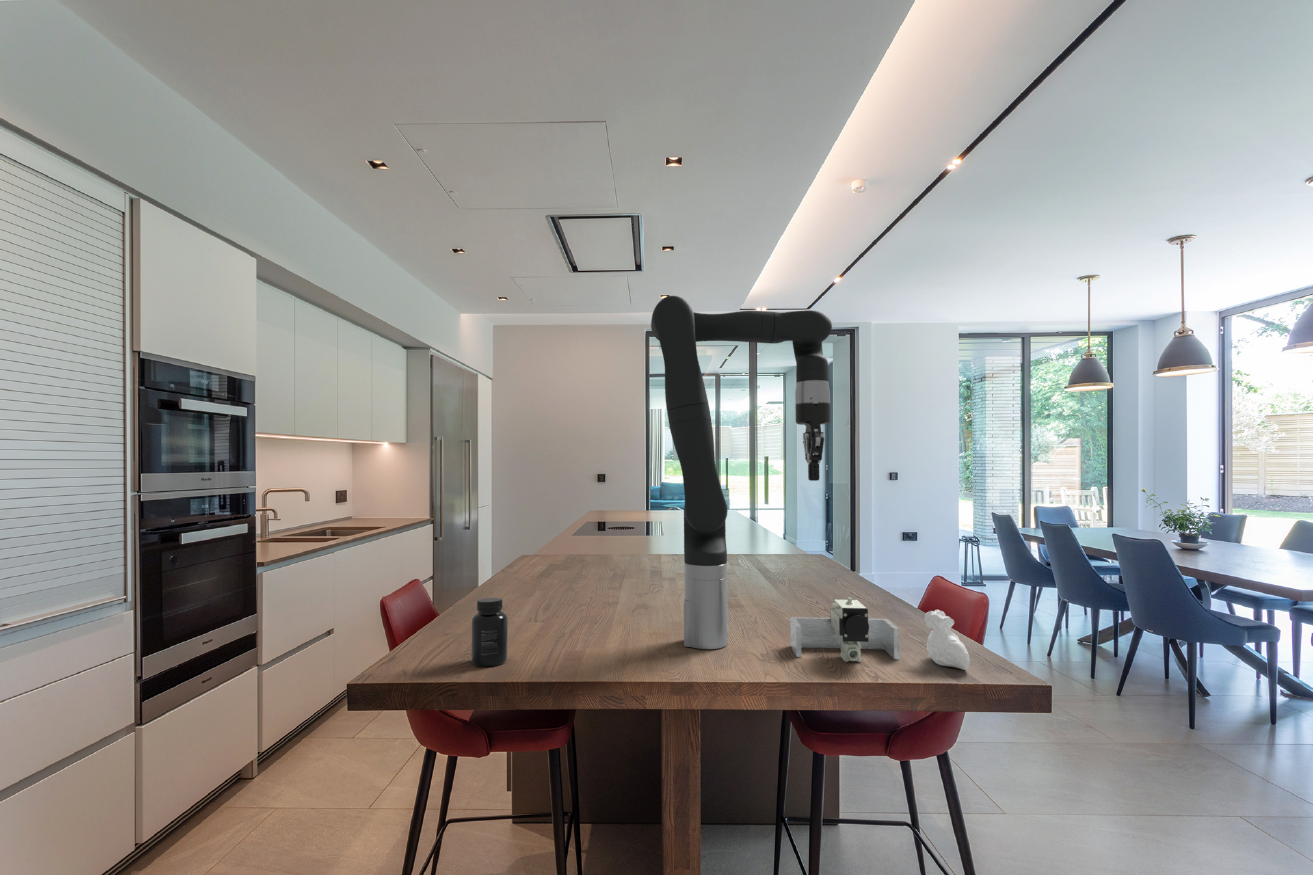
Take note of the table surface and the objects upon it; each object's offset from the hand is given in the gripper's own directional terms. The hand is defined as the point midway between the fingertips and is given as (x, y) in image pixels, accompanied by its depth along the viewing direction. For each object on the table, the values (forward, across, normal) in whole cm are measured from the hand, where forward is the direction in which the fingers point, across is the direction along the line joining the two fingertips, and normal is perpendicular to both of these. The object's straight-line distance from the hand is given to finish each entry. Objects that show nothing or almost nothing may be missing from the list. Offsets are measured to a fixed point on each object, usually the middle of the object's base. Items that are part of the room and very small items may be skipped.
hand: (813, 480), depth 134 cm
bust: (+35, +14, +22) cm, 44 cm away
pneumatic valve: (+35, +13, +4) cm, 38 cm away
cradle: (+35, +8, +4) cm, 36 cm away
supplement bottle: (+35, +20, -66) cm, 77 cm away
